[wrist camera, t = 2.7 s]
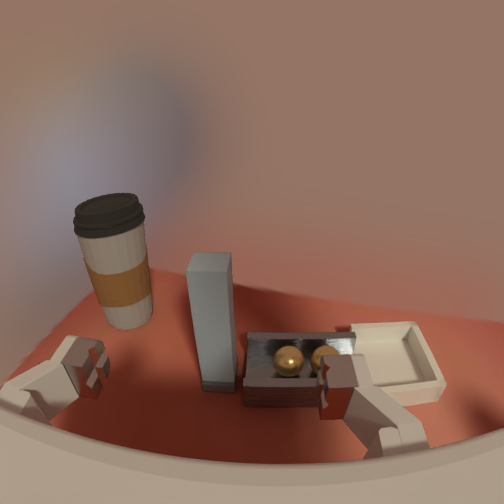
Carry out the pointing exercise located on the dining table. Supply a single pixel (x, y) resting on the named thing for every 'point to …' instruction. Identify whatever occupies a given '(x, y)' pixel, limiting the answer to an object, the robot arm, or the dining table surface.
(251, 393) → the slot rail
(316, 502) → the robot arm
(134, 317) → the coffee cup
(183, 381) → the dining table surface
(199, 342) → the tall gray pillar
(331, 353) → the gold metallic ball
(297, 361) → the brass sphere
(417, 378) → the ball tray
